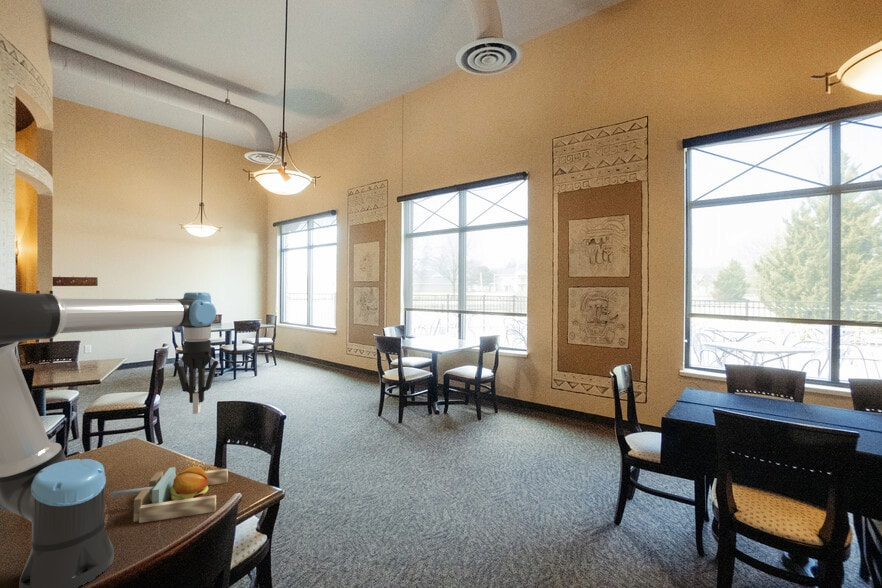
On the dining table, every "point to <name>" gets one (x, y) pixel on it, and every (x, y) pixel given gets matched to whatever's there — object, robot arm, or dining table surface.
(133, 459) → the dining table surface
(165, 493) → the pusher
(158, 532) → the dining table surface
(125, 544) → the dining table surface
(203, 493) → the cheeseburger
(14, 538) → the dining table surface
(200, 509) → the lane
